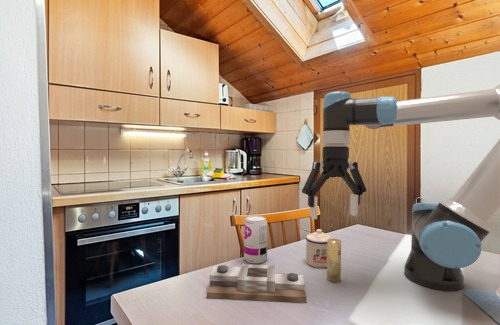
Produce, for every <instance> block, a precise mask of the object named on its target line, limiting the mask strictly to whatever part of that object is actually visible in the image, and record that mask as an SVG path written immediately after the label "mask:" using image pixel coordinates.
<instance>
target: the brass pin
mask: <svg viewBox="0 0 500 325" xmlns="http://www.w3.org/2000/svg"><path fill="white" fill-rule="evenodd" d="M341 279H342V240H341V239H339V238H332V239H328V240H327V267H326V280H327V281H328V282H329V283H333V284H339V283H340V282H341Z"/></svg>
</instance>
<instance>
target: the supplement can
mask: <svg viewBox="0 0 500 325" xmlns="http://www.w3.org/2000/svg"><path fill="white" fill-rule="evenodd" d="M243 223H244V224H243V225H244V226H243V250H244V251H243V253H244V254H243V259H244V260H245V261H246V263H248V264H251V265H261V264H263V263H265V262H266V261H267V260H268V221H267V219H266V217H264V216H259V215H252V216H247V217H246V218H245V220H244V222H243Z"/></svg>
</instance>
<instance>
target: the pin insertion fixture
mask: <svg viewBox="0 0 500 325" xmlns="http://www.w3.org/2000/svg"><path fill="white" fill-rule="evenodd" d="M305 285H306V284H305V280H304V275H303V274H301V273H294V272H290V273H285V272H284V273H282V272H281V273H280V272H276V266H275V265H271V264H270V265H268V264H266V265H265V264H246V263H245V264H244V263H243V264H241V266H228V265H224V264H222V265H221V264H220V265H214V266H213V268H212V270H211V272H210V273H209V286H208V288H207V291H206V299H220V300H221V299H222V300H224V299H225V300H241V301H260V302H263V301H264V302H284V303H299V304H300V303H302V304H303V303H304V304H307V293H306V289H305V288H306V286H305Z"/></svg>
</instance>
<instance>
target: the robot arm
mask: <svg viewBox="0 0 500 325" xmlns="http://www.w3.org/2000/svg"><path fill="white" fill-rule="evenodd" d="M322 115H323V116H322V117H323V118H322V122H323V123H322V130H323V131H322V144H323V145H324V146H323V147H322V154H321V155H322V162H320V161H314V162H312V166H311V167H312V168H311V171H310V173H309V175H308V177H307V179H306V181H305V183H304V186H303V188H302V189H301V193H302V194H304V195H307V206H308V207H310V214H309V215H310V218H312V219H313V220H317V219H318V196H316V195H317V193H318V192H319V191H320V190H321V188H322V187H323V186H324V185H325V183H326V182H327V180H328V179H330V178H342V179H343V181H344V182H345V184H346V185H347V187H348V188H349V189H350V191H351V192H352V193H350V197H349V198H350V199H349V200H350V202H349V203H350V206H349V208H350V210H349V215H350V216H353V217H356V218H357V217H358V216H359V215H358V214H359V206H360V204H361V196H362V195H363V194H364V193H366V192H367V188H366V185H365V183H364V181H363V178H362V176H361V172H360V170H359V163H358V162H357V161H350V162H349V158H350V147H349V146H348V145H350V129H351V128H350V127H351V126H364V127H366V128H368V129H370V130H376V129H379V128H386V127H387V128H388V127H398V126H406V125H407V126H408V125H417V124H418V125H419V124H429V123H430V124H431V123H438V122H439V123H440V122H450V121H451V122H452V121H460V120H462V121H463V120H472V119H479V118H480V119H482V118H493V117H494V118H495V119H497V120H499V121H500V83H499V84H497V85H496V86H495V87H494V88H490V89H483V90H474V91H466V92H459V93H451V94H445V95H444V94H443V95H435V96H430V97H421V98H412V99H404V100H397V97H395V96H383V95H381V96H376V97H373V96H372V97H362V98H352V97H351V93H350V92H349V91H339V90H338V91H331V92H328V93H326V94H325V95H324V98H323V108H322ZM322 169H323V170H322ZM348 169H349V172H350V173H349V172H348ZM321 170H322V172H321V173H320V171H321ZM499 209H500V138H498V140H497V142H496V143H495V144H494V145H493V147H492V148H491V149H490V151H489V152H488V153H487V154H486V155H485V156H484V157H483V159H482V160H481V161H480V162H479V164H478V165H477V167H476V168H475V169H474V170H473V172H472V173H471V174H470V175H469V176H468V178H467V179H466V180H465V181H464V183H463V184H462V185H461V186H460V187H459V189H458V190H457V191H456V192H455V194H454V195H453V196H452V198H451V199H449V200H442V201H440V202H438V203H429V202H428V203H426V202H416V203H414V204H412V209H411V210H412V211H411V219H412V220H411V241H410V242H411V245H410V246H411V249H410V252H409V254H408V257H407V259H406V261H405V264H404V266H403V274H404V276H405V277H406V278H407V279H408V280H410V281H412V282H414V283H416V284H417V285H420V286H423V287H425V288H428V289H429V288H430V289H434V290H437V291H445V292H446V291H447V292H449V291H450V292H451V291H452V292H455V291H461V290H462V289H463V288H464V287H465V278H464V273H463V272H462V268H466V267H469V266H471V265H472V264H474V263H475V262H476V261H478V260H479V258H480V256H481V254H482V242H483V241H484V239H485V238H486V237H487V236H488V234H490V232H491V231H492V230H491V227H490V220H491V219H492V217H493V216H495V214H496V213H497V212H498V211H499Z"/></svg>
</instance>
